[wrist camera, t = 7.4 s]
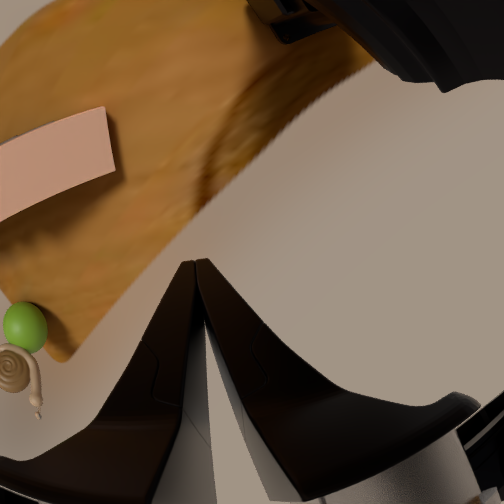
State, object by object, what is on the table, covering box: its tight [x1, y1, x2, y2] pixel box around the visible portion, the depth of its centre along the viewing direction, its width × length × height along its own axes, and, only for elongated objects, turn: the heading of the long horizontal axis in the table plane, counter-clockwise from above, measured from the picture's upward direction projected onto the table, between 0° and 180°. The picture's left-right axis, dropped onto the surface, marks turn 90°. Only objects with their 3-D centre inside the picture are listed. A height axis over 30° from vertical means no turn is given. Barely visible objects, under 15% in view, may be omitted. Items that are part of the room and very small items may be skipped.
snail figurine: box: [0, 302, 48, 420], centre depth 18 cm, size 5×6×12 cm
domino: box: [0, 107, 116, 222], centre depth 13 cm, size 1×4×10 cm
